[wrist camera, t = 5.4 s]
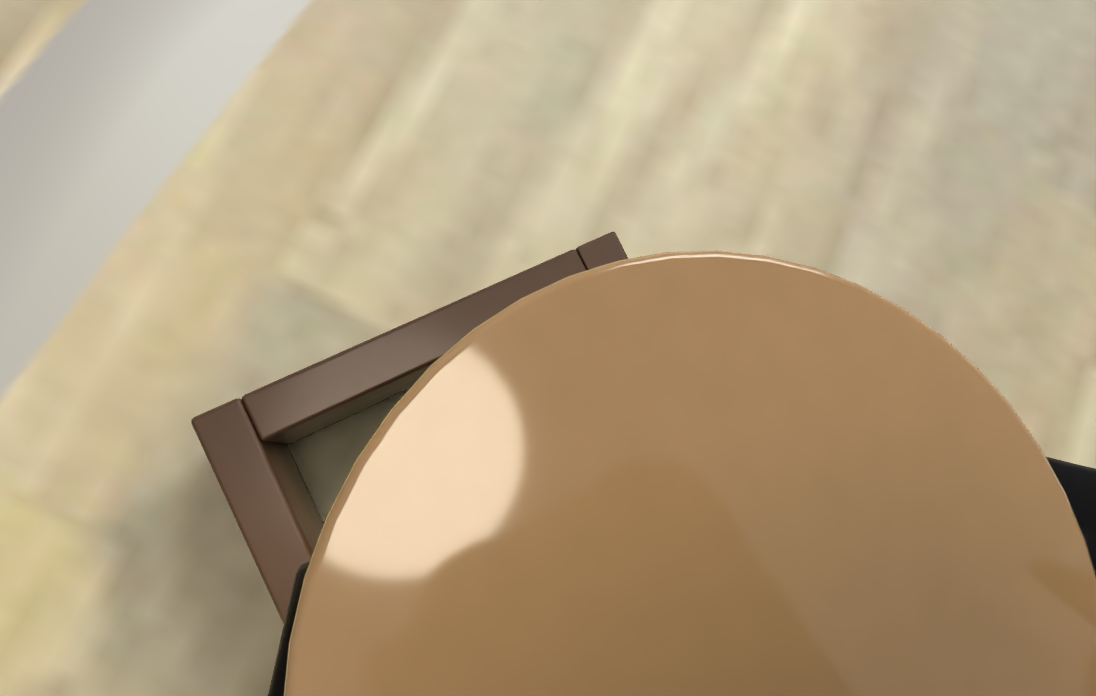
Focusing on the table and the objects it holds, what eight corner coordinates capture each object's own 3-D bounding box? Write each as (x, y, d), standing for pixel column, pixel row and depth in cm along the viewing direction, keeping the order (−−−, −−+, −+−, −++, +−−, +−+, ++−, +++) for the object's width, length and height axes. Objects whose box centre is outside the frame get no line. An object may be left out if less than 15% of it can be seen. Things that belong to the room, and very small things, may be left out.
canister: (647, 626, 16) (1213, 1027, 5) (396, 680, 15) (337, 1389, 4) (607, 382, 17) (1013, 215, 6) (365, 416, 16) (235, 291, 4)
